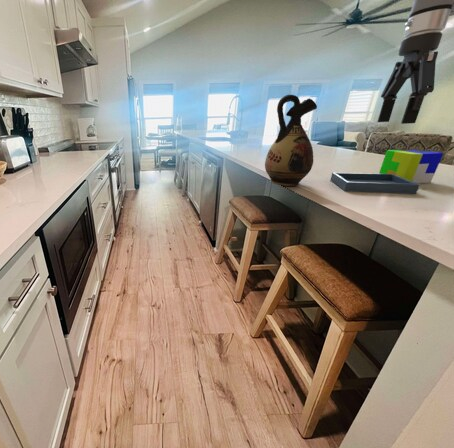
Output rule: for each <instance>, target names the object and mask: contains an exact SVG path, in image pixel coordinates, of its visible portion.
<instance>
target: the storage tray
mask: <svg viewBox="0 0 454 448" xmlns="http://www.w3.org/2000/svg"><path fill="white" fill-rule="evenodd" d="M330 181H331V182H332V183H333V184H334V185H336V186H337V187H338V188H340V189H341V190H342V191H344V192H355V193H356V192H357V193H380V194H401V195H403V194H404V195H405V194H406V195H417V192H418V189H419V188H420V183H414V182H412V181H409V180H407V179H405V178H402V177H400V176H397V175H395V174H379V173H368V172H367V173H364V172H331V176H330Z"/></svg>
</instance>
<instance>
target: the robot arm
mask: <svg viewBox="0 0 454 448" xmlns="http://www.w3.org/2000/svg"><path fill="white" fill-rule="evenodd" d="M453 16H454V0H413V2H412V6H411V9H410V13H409V16H408V20H407V22H406V23H405V24H404V27H405V29H404V33H403V37H404V39H402V41H401V43H400V46H399V50H398V53H397V55H398V56H399V57H403V60H402V61H397V62H395V64H394V67H393V70H392V73H391V74H390V76H389V79H388V81H387V82H386V84H385V87H384V88H383V91H382V93H381V95H380V98H382V100H383V102H382V105H381V108H380V111H379V115H378V119H377V123H389V122H390V120H391V117H392V113H393V110H394V106H395V103H396V99H398V96H397V95H398V93H399V92H400V90H401V89H402V87H403V86H404V85H405V83H406V82H407V80H409V79H410V86H411V93H410V94H409V96H408V97H409V98H408V101H407V104H406V107H405V111H404V113H403V116H402V120H401V122H400V124H403V125H404V124H416V122H417V119H418V116H419V113H420V110H421V108H422V105H423V101H424V99H425V97H426V96H427V95H428V94H429V93H433V92H434V90H435V76H436V63H437V58H438V54H439V51H437V50H438V48H439V46H440V43H441V40H442V37H443V35H444V34H443V33H442V31H444V30H445V29H446V27H447V23H448V21H449V18H450V17H453Z"/></svg>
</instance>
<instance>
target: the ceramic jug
mask: <svg viewBox="0 0 454 448" xmlns="http://www.w3.org/2000/svg"><path fill="white" fill-rule="evenodd" d="M289 102H292V103H293V106H292V107H290V108H289V110H288V111H287V112H286V114H285V115H284V105H285V104H286V103H289ZM317 108H318V105H317V103H316V102H315V101H314V100H313V99H312V98H310V97H308V98H307V99H304V100H303V101H302V102H301V101H300V98H299V97H298V95H295V94H286V95H284V96H282V97H281V98H280V99H279V101H278V103H277V108H276V113H277V118H278V124H279V131H278V133H277V137H276V138H275V140H274V141H273V143H272V144H271V146H270V147H269V149H268V151H267V154H266V157H265V160H264V169H265V172H266V174H267V175H268V177H269V179H270V183H271V184H274V185H278V186H281V187H298V186H300V183H301V181H302V180H303V179H305V177H306V176H307V175H308V174H309V173H310V172H311V170H312V168H313V165H314V150H313V145H312V142H311V140H310V138H309V136H308V134H307V132H306V131H305V129H304V127H303V125H302V117H303V116H304V115H306V114H308V113H310V112H313V111H315V110H317ZM285 116H287V117H290V119H289V121H288V123H287V124H286V121H285ZM259 185H261V184H259Z"/></svg>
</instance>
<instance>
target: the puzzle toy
mask: <svg viewBox="0 0 454 448" xmlns="http://www.w3.org/2000/svg"><path fill="white" fill-rule="evenodd" d="M443 155H444V152H438V151H431V150H422V149H416V148H413V149H411V148H410V149H388V150H386V152H385V155H384V157H383V161H382V163H381V166H380V169H379V172H378V174H395V175H397V176H400V177H402V178H405V179H407V180H409V181H412V182H414V183H417V184H425V183H427V184H428V183H432V181H433V178H434V176H435V174H436V171H437V169H438V167H439V165H440V163H441V161H442V158H443Z"/></svg>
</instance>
